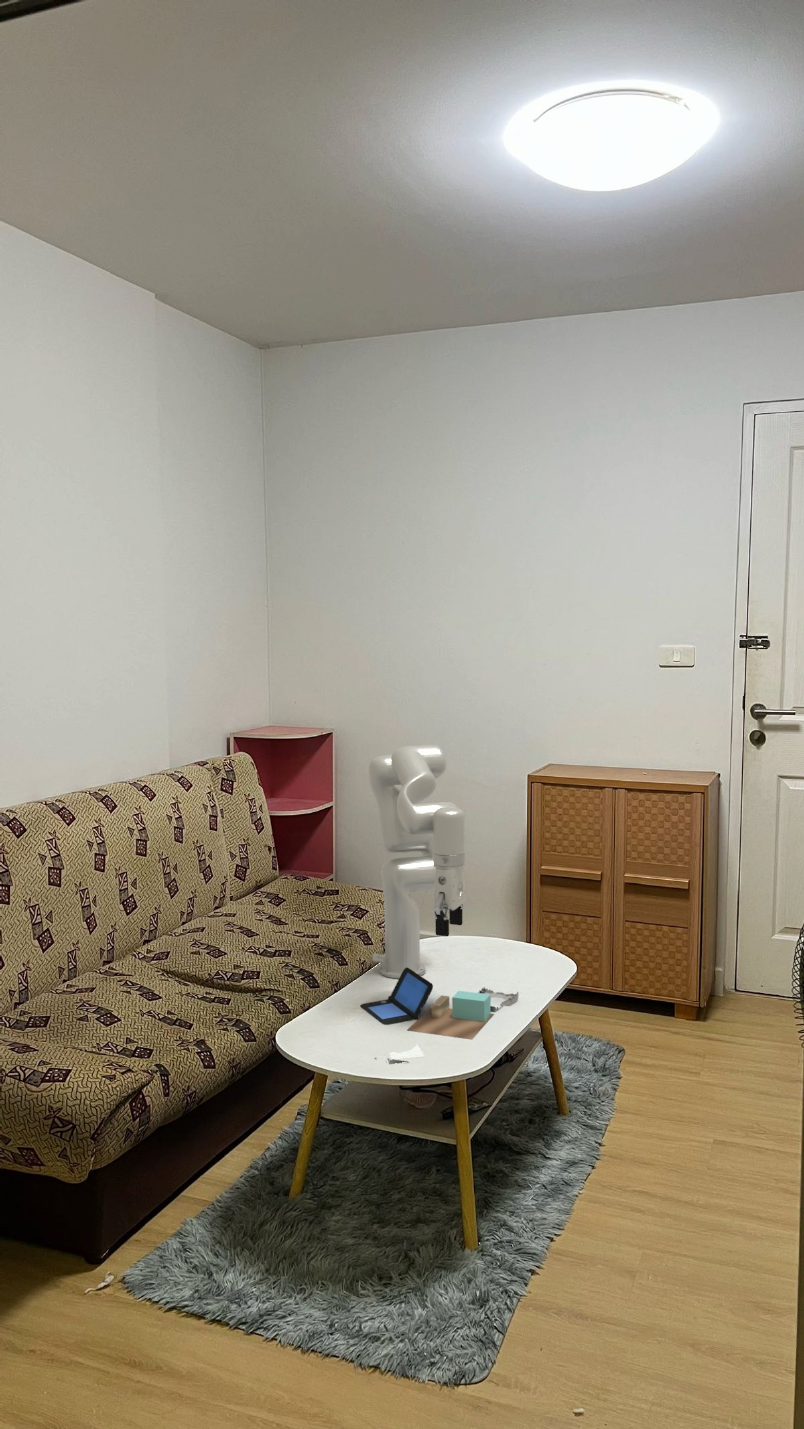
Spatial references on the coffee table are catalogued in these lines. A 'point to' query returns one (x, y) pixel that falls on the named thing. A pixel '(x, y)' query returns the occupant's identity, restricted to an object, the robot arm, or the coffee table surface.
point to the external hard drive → (405, 1055)
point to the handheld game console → (402, 1000)
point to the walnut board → (446, 1022)
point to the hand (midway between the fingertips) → (449, 929)
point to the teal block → (471, 1006)
